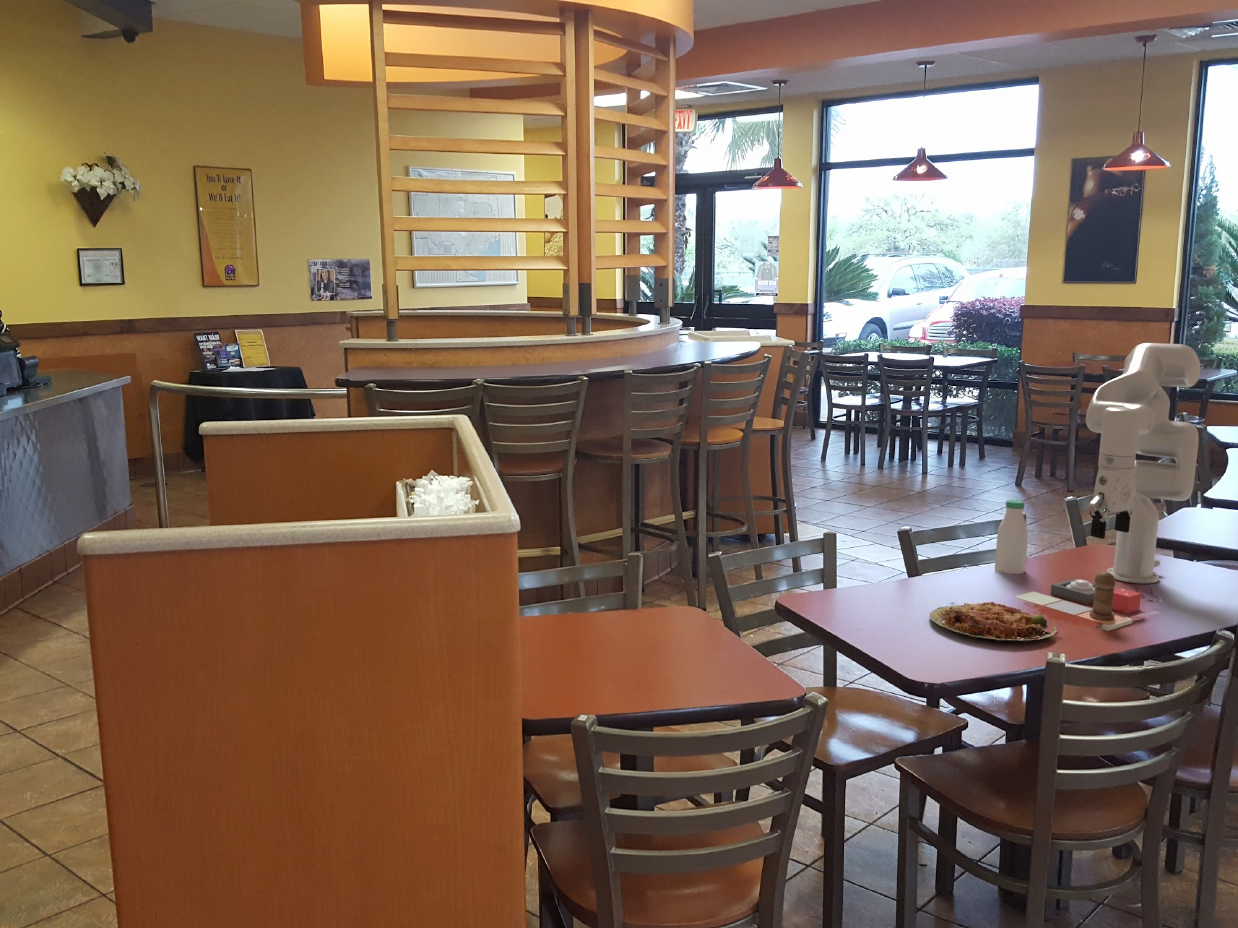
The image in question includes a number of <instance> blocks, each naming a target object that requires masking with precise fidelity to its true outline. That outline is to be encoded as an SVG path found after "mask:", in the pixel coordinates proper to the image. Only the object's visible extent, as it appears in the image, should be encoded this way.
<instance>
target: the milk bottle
mask: <svg viewBox="0 0 1238 928" xmlns="http://www.w3.org/2000/svg"><path fill="white" fill-rule="evenodd" d="M1005 509H1006V511H1005V514H1004V517H1003V519H1001V522H1000V524H999V526H998V529H997V536H996V537H997V539H996V545H995V546H996V548H995V549H996V550H995V561H994V571H995V573H999V572H1000V573H1002V574H1003V573H1004V574H1009V575H1010V574H1011V575H1013V574H1014V575H1019V574H1024V573H1025V572H1026V566H1027V556H1028V555H1027V553H1028V542H1029V539H1028V537H1029V531H1028V526H1027V524H1026V521H1025V517H1024V510H1025V502H1024V500H1023V501H1022V500H1019V499H1007V500H1006V502H1005Z"/></svg>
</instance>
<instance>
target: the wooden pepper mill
mask: <svg viewBox="0 0 1238 928" xmlns="http://www.w3.org/2000/svg"><path fill="white" fill-rule="evenodd" d="M1116 582H1117V581H1116V579H1115V578H1114V576H1113V575H1112V574H1110V573H1108V572H1107V571H1102V572H1099V573H1097V574H1096V576H1095V578H1094V584H1095V585H1096V586H1095V593H1094V603H1092V604H1093V605H1092V606H1093V608H1092V609H1093V610H1090V611H1089V612H1090V617H1091V618H1094V619H1097V620H1102V621H1111V620H1114V615H1116V614H1115V613H1114V612H1113V609H1112V605H1113V594H1114V590H1115V589H1114V588H1115V586H1116Z"/></svg>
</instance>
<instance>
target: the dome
mask: <svg viewBox="0 0 1238 928" xmlns="http://www.w3.org/2000/svg"><path fill="white" fill-rule="evenodd" d="M1089 582H1090V581H1088V580H1085V579H1080V580H1075V581H1073V582H1071V583H1070V584H1069V585H1067V586H1066V587H1068V588H1072V589H1075V590H1079V591H1082V592H1086V593H1088V592H1091V591H1095V588H1094V587H1093V585H1092V584H1091V583H1092V582H1091V583H1089Z"/></svg>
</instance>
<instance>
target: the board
mask: <svg viewBox="0 0 1238 928" xmlns="http://www.w3.org/2000/svg"><path fill="white" fill-rule="evenodd" d="M1013 598H1015V599H1019V600H1022V601H1026V602H1029V603H1033V604H1037V605H1039V606H1044V607H1046V608H1049V609H1053V610H1056V611H1059V612H1062V613H1066V614H1070V615H1073V616H1075V615H1076V617H1080V618H1083V619H1086V620H1090V621H1093V622H1097V623H1100V625H1096V626H1095V628H1096V629H1098V630H1099V629H1100V630H1103V631H1106V632H1109V631H1113V630H1115V629H1118V628H1122V627H1125V626H1128V625H1131V624H1133V621H1134V620H1133V618H1130V617H1128V616H1126V617H1123V616H1120V615H1117V614H1115V615H1114V620H1111V621H1102V620H1097V619H1094V618H1091V617H1090V611H1091V610H1093V608H1092V607H1089V606H1085V605H1081V604H1078V603H1076V602H1075V603H1074V602H1072V601H1067V600H1063V599H1061V598H1057V597H1054V596H1049V595H1047V594H1043V593H1041V592H1036V591H1030V592H1026V593H1023V594H1018V595H1014V596H1013Z"/></svg>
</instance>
